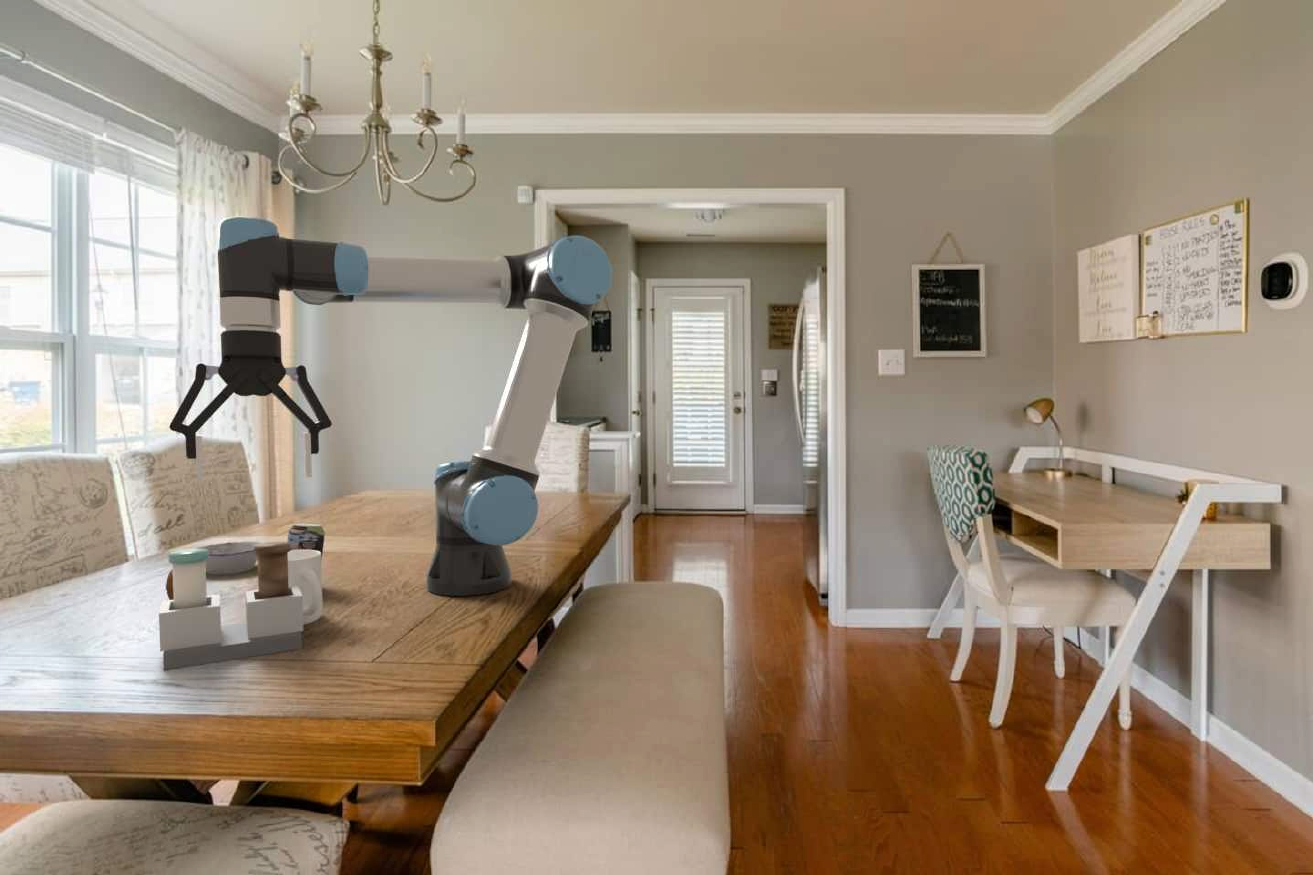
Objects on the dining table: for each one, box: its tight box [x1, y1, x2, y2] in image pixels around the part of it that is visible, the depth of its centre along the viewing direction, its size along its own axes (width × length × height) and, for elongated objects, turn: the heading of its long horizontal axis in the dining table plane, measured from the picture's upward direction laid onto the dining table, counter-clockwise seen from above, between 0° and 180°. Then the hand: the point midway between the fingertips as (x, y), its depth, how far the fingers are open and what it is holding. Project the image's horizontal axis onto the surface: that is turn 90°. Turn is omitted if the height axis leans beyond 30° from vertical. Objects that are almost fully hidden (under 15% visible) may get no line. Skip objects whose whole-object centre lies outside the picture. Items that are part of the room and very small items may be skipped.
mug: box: [288, 550, 323, 626], centre depth 115 cm, size 12×8×10 cm
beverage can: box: [286, 522, 326, 562], centre depth 135 cm, size 6×7×12 cm
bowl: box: [195, 541, 262, 576], centre depth 150 cm, size 13×13×5 cm
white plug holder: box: [158, 585, 304, 671], centre depth 103 cm, size 17×10×7 cm, turn 121°
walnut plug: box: [254, 541, 291, 599], centre depth 106 cm, size 5×5×8 cm
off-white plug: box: [167, 548, 209, 610], centre depth 100 cm, size 5×5×8 cm
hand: (255, 479), depth 107 cm, fingers open, 13 cm apart
